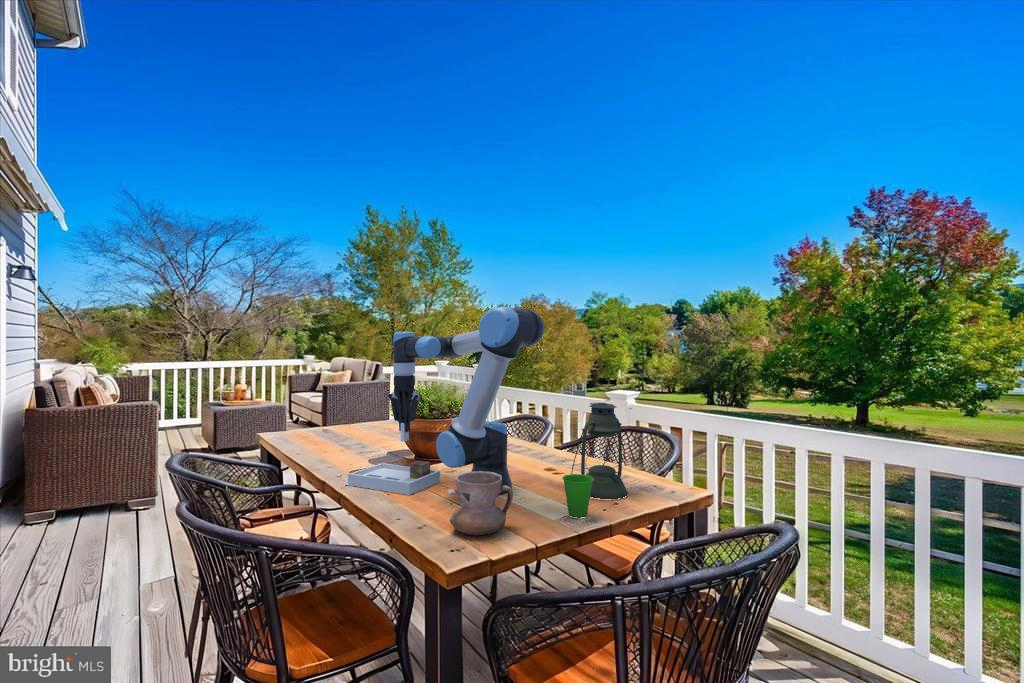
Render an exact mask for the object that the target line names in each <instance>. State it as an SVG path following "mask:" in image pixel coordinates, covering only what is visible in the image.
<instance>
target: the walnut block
mask: <svg viewBox="0 0 1024 683" xmlns="http://www.w3.org/2000/svg"><path fill="white" fill-rule="evenodd" d="M409 467H410V478H414V479H418V478H421V477H423V476H426V475H428V474H430V470H431V461H423V460H416V461H413V462H411V463H409Z"/></svg>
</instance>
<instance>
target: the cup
mask: <svg viewBox="0 0 1024 683" xmlns="http://www.w3.org/2000/svg"><path fill="white" fill-rule="evenodd" d="M562 480H563V484H564V493H565V497H566V506H567V512H568V516H569V515H570V516H572V517H577V518H581V517H586V518H587V516H588V513H589V512H588V511H589V505H590V500H591V499H590V494H591V488H592V481H594V479H593V477H591V476H588V475H586V474H585V475H582V474H581V473H572V474H571V473H569V474H565V475H563V476H562ZM570 516H569V517H570Z"/></svg>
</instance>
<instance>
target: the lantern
mask: <svg viewBox="0 0 1024 683" xmlns="http://www.w3.org/2000/svg"><path fill="white" fill-rule="evenodd" d="M588 407H590V409H591V412H590V413H589V415H588V419H587V420H588V421H587V422H586V423H585V425H584V427H583V428H582V429H581V431H582V432H581V436H580V439H579V442H578V444H577V445H578V446H577V448H576V451H575V455H574V459H573V463H572V466H571V467H572V468H571V473H570V474H573V471H574V466H575V462H576V458H577V454H578V450H579V448H580V444H581V456H580V458H581V462H580V464H581V465H580V472H581V473H580V474H582V475H588V476H591V477H593V479H594V481H592V488H591V494H590V497H593V498H600V499H618V498H623V497H625V496H627V494H628V495H629V491H628V490H627V488H626V485H625V484H624V481H623V480H622V478H621V477H622V471H623V445H622V444H623V443H622V442H623V440H622V427H621V426H622V423H621V422H620V421H619V419H618V418H617V415H616V414H615V408H617V406H616V405H614V404H613V403H606V402H594V403H593V402H590V403H589V406H588ZM588 435H589V436H593V437H601V438H605V437H607V438H610V437H614V439H613V441H612V443H611V444H609V445H606V446H605V445H604V446H603V447H601V448H599V449H597V450H595V449H594V448H592V447H591V446H590V444H588V442H587V436H588ZM616 438H617V441H616V442H615V440H616ZM581 441H582V442H581ZM616 443H617V445H618V450H617V453H618V456H617V457H618V460H615V459H612V458H610V457H609V455H610V452H611V450H612V449H613V445H615V444H616ZM586 444H587V445H588V447H589V448H590V449H592V450H593V452H592V453H590V454H588V456H587V457H586ZM609 446H610V449H609V450H608V454H607V455H604V454H602V453H600V452H598V451H600V450H602V449H604V448H607V447H609ZM593 453H597V454H600V455H602V456H603V457H605V460H604V462H603V463H602V464H597V465H596V464H595V465H592V466H591V467H589V468H588V467H587V460H588V458H589V457H590V456H591V455H592V454H593ZM608 459H610V460H612V461H613V462H616V463H617V464H618V465H617V466H610V465H605V464H606V462H607V460H608ZM585 468H586V470H587V471H588V472H587V473H585V472H586V471H585ZM615 468H618V469H617V470H616V469H615ZM627 497H628V496H627ZM623 499H624V498H623Z"/></svg>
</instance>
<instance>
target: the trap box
mask: <svg viewBox="0 0 1024 683" xmlns="http://www.w3.org/2000/svg"><path fill="white" fill-rule="evenodd" d="M438 482H439V483H441V470H435V469H430V474H428V475H426V476H423V477H421V478H418V479H414V478H410V466H406V465H399V464H393V463H385V462H382V463H379V464H378V463H377V464H374V465H372V466H368V467H365V468H363V469H360V470H357V471H353V472H350V473H347V486H348V485H350V486H349V487H354V486H356V488H360V487H363V488H362V489H366V488H370V489H369V490H372V489H376V490H375V491H378V490H383V491H382V492H384V491H389V492H388V493H390V492H395V493H394V494H396V493H400V494H399V495H402V494H406V495H405V496H408V495H410V496H411V494H412V495H414V494H416V492H417V493H419V492H421V491H423V490H425V488H426V489H428V488H430V487H432V486H435V485H436V483H437V484H439V483H438ZM434 484H435V485H434ZM429 486H430V487H429ZM427 487H428V488H427ZM422 489H423V490H422ZM420 490H421V491H420ZM418 491H419V492H418ZM413 493H414V494H413Z"/></svg>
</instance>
